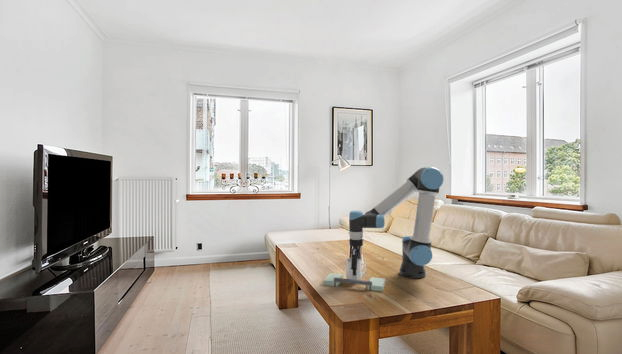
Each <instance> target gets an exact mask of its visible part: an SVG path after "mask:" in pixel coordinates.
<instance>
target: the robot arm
mask: <svg viewBox="0 0 622 354" xmlns="http://www.w3.org/2000/svg"><path fill="white" fill-rule="evenodd" d="M443 183H444V175H443V172H442V171H441V170H439V169H438V168H436V167H434V166H432V167H429V166H428V167H421V168H419V169H418V170H416V171H415V172H414V173H413V174H412V175H410V177H408V178H406V182H405V183H404V184H402V185H401V186H400V187H398V188H397V189H396V190H395V191H393V192H391V194H390V195H388V196H387V197H385V198H384V199H383V200H382V201H381V202H379V203H378V204H377V205H375V206H374V207H373V208H371V209H370V210H369V211H366V212H363V211H362V210H352V211H350V212H349V222H348V223H349V228H348V229H349V231H348V234H349V239H348V240H349V243H348V244H349V246H350V247H352V249H351V258H352V264H351V269H352V279H353V280H357V259H361V254H362V253H361V247H362V246H363V245H364V243H363V242H364V239H363V238H364V234H363V233H364V230H363V229H384V227H385V216H386V215H387V214H388V213H390V212H391V211H393V209H395V208H396V207H398V206H399V204H401V203H403V202H404V201H405V200H406V199H408V198H409V197H411V195H413V194H414V193H418V198H417V199H418V200H417V206H416V214H415V221H414V226H413V233H412V235H405V236H404V235H403V237H402V241H401V242H402V245H401V246H402V253H401V254H402V256H401V257H402V258H401V259H402V260H401V265H400V267H399V275H400V276H402V277H405V278H409V279H423V278H426V276H427V273H426V271H427V270H426V268H425V266H426V265H428V264H429V263H430V262H431V261H432V259H433V252H432V250H431V249H432V248H431V247H432V243H433V242H432V240H431V239H430V235H431V229H432V221H433V214H434V207H435V203H436V202H435V200H436V196H437V195H439V194H440V193H439V192H440V188H441V186H442V185H443ZM361 260H362V259H361Z"/></svg>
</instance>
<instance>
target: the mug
mask: <svg viewBox="0 0 622 354" xmlns="http://www.w3.org/2000/svg"><path fill="white" fill-rule="evenodd" d="M351 264H352V257H349V258H346V260H345V276H346V277H345V279H352V269H351ZM362 266H364V267H365V269H364V271H363V272H362ZM366 273H367V265H366V263H365V262H363V261H362V259H357V280H361V279H362V276H363V275H365V274H366Z"/></svg>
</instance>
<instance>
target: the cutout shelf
mask: <svg viewBox="0 0 622 354" xmlns="http://www.w3.org/2000/svg"><path fill="white" fill-rule="evenodd" d="M341 283H346V284H354V285H355V284H356V285H363V286H364V285H365V286H367V288H366V290H368V291H375V292H376V291H377V292H384V289H385V285H386V278H381V277H372V276H371V277H370V278H369V280H361V279H360V280H353V279H347V278H344V274H343V273H342V274H341V273H333V272H332V273H330V272H329V274H327V276H326V277H325V278H324V279H323V286H331V287H339V285H340V284H341Z"/></svg>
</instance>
